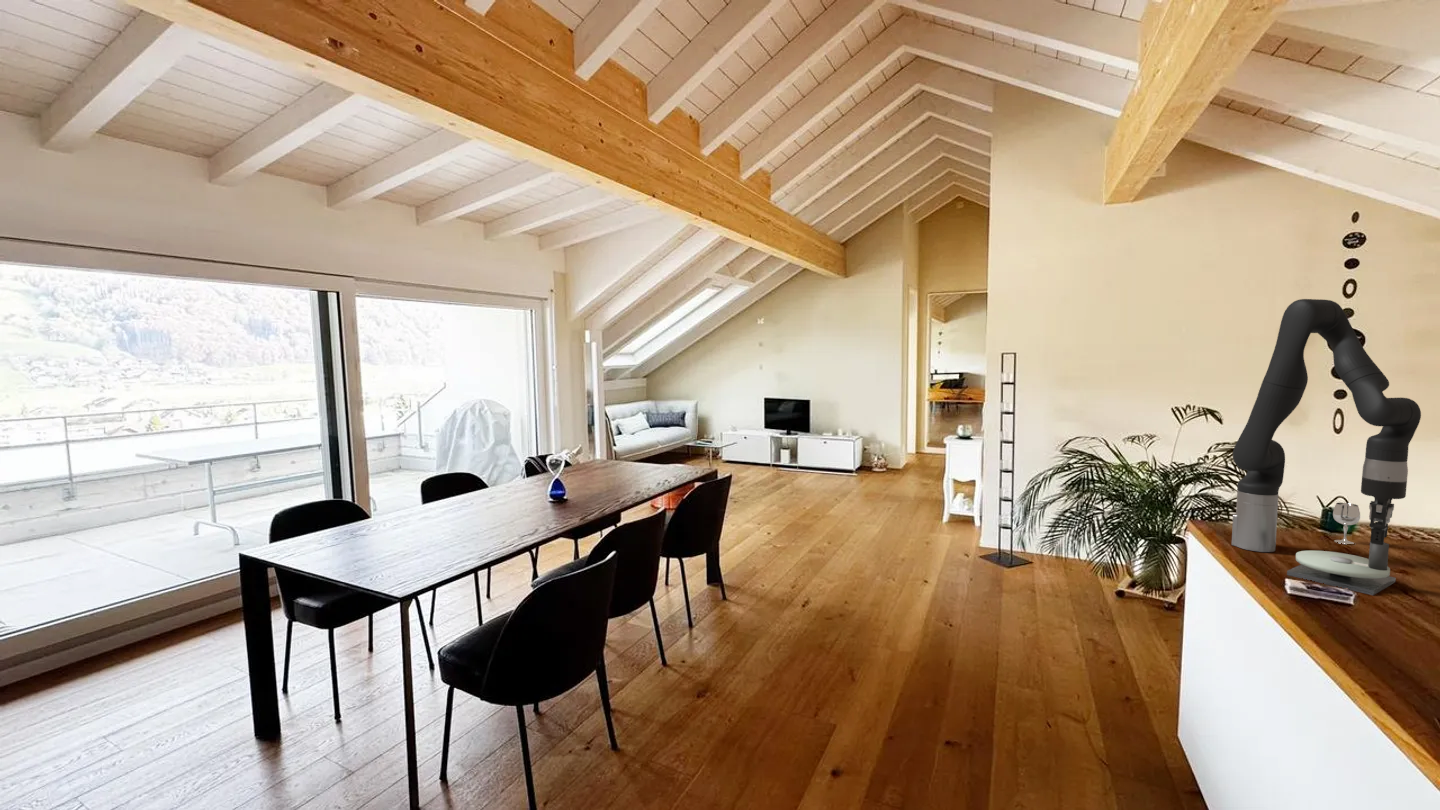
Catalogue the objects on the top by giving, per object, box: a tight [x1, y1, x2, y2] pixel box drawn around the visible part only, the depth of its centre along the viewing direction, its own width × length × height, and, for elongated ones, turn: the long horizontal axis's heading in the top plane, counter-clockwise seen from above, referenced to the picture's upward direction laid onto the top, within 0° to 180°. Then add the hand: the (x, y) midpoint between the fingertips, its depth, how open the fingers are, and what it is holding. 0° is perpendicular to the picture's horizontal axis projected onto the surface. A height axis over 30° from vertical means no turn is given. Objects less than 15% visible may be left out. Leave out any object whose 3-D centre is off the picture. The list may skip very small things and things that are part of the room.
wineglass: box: [1332, 502, 1361, 545], centre depth 183 cm, size 6×6×12 cm
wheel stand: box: [1286, 564, 1396, 596], centre depth 156 cm, size 16×16×3 cm
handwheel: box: [1295, 541, 1391, 578], centre depth 155 cm, size 17×17×8 cm
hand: (1378, 540), depth 150 cm, fingers open, 8 cm apart
